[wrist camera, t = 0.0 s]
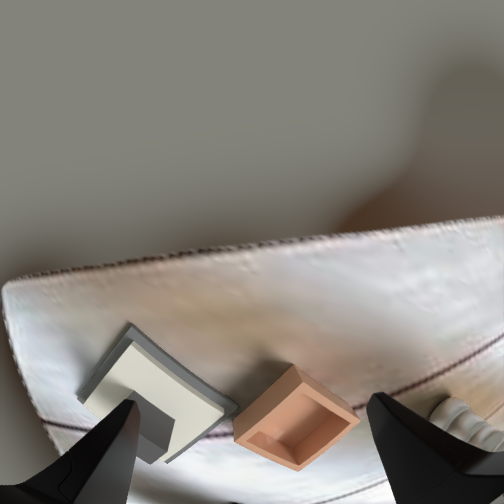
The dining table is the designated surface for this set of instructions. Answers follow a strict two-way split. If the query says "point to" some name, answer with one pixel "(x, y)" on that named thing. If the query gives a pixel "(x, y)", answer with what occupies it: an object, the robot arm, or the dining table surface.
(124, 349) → the mat
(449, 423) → the plastic bottle
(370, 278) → the dining table surface
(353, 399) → the dining table surface
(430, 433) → the robot arm
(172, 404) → the lid
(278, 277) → the dining table surface
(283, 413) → the orange open box
